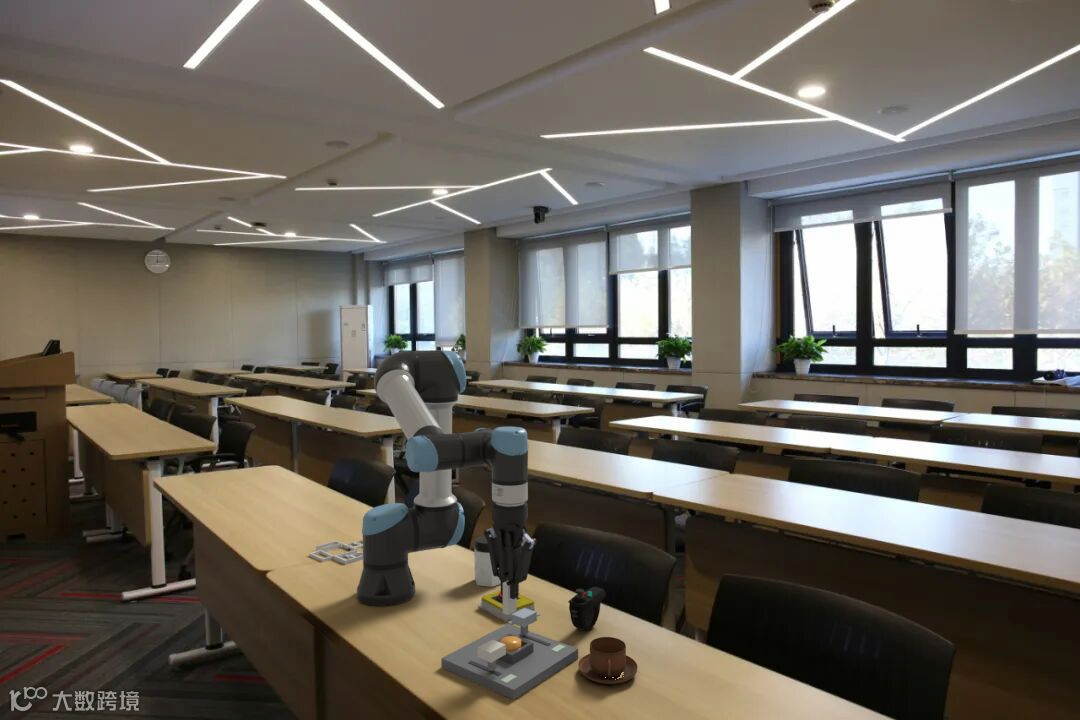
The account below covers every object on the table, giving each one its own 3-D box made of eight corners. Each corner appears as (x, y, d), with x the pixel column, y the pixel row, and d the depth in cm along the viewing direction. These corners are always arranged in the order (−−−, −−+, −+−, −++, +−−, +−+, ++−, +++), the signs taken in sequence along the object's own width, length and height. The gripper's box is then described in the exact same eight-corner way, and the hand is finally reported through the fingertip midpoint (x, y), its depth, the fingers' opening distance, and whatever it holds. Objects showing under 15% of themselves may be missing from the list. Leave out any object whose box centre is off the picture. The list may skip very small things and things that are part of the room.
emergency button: (505, 581, 179) (542, 598, 168) (505, 597, 180) (542, 616, 168) (476, 590, 173) (512, 608, 162) (476, 607, 174) (512, 627, 162)
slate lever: (511, 634, 151) (511, 614, 151) (524, 628, 155) (524, 607, 154) (524, 639, 149) (523, 618, 149) (536, 632, 152) (536, 611, 152)
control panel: (441, 667, 142) (441, 648, 142) (508, 632, 158) (508, 615, 158) (514, 700, 129) (513, 679, 129) (578, 657, 146) (578, 639, 146)
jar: (468, 585, 187) (468, 542, 187) (480, 574, 195) (480, 533, 195) (499, 588, 185) (499, 545, 184) (509, 578, 192) (509, 536, 192)
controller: (565, 634, 157) (565, 592, 156) (592, 615, 167) (592, 575, 167) (581, 639, 154) (581, 596, 154) (608, 620, 165) (608, 579, 164)
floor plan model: (285, 560, 210) (285, 554, 210) (357, 541, 228) (357, 535, 228) (316, 575, 197) (316, 568, 197) (389, 553, 215) (389, 547, 215)
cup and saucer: (647, 684, 135) (647, 654, 135) (590, 694, 132) (590, 663, 131) (623, 656, 147) (623, 628, 146) (570, 664, 143) (570, 636, 143)
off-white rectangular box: (477, 670, 136) (477, 647, 135) (492, 662, 139) (492, 639, 139) (491, 676, 133) (490, 652, 133) (505, 667, 137) (505, 644, 137)
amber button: (495, 652, 143) (495, 641, 143) (509, 645, 147) (509, 634, 147) (511, 659, 141) (511, 647, 141) (525, 651, 144) (525, 640, 144)
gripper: (474, 500, 143) (474, 609, 145) (521, 511, 135) (521, 626, 137) (498, 492, 149) (498, 597, 151) (545, 503, 141) (544, 614, 143)
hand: (509, 611), depth 144 cm, fingers closed
